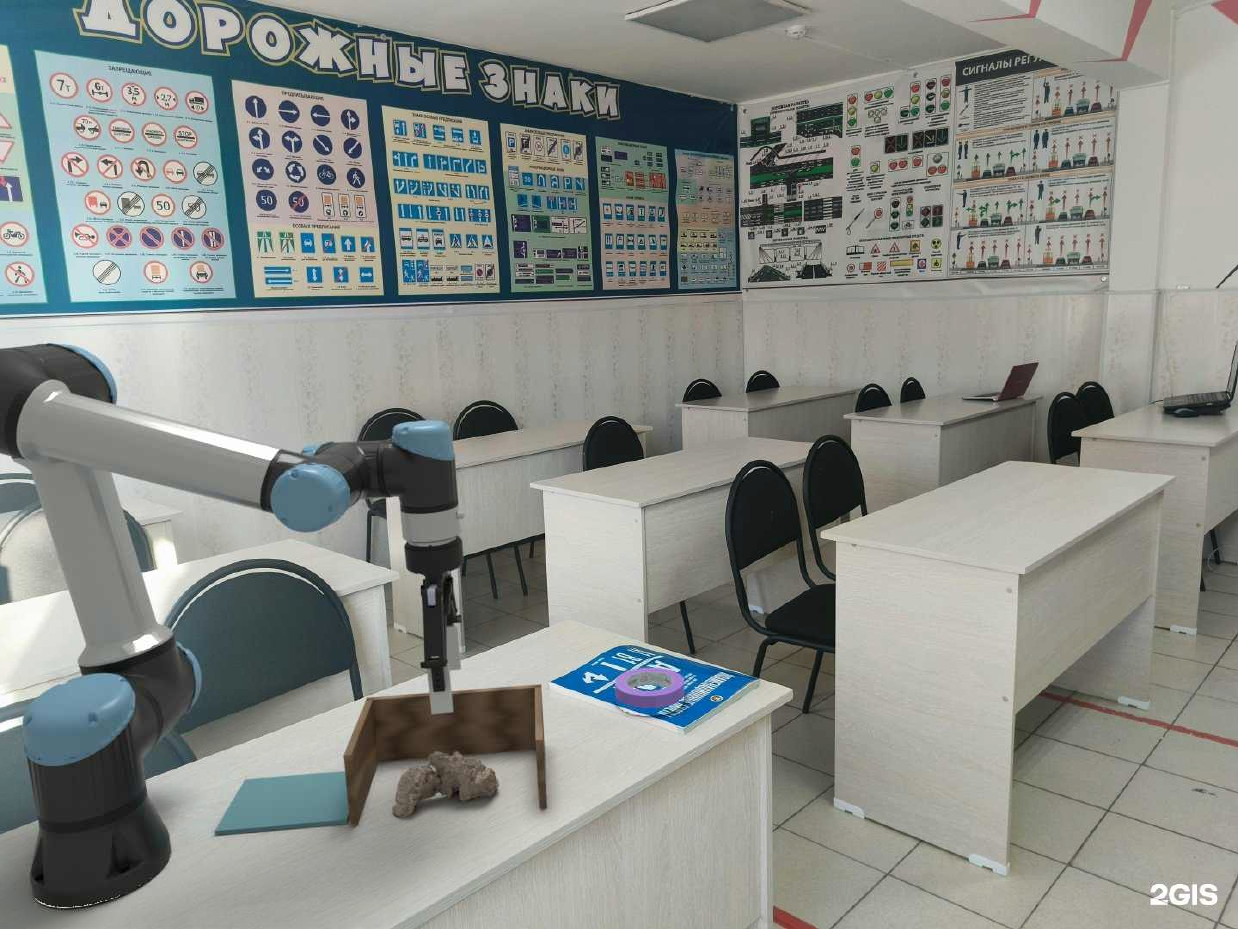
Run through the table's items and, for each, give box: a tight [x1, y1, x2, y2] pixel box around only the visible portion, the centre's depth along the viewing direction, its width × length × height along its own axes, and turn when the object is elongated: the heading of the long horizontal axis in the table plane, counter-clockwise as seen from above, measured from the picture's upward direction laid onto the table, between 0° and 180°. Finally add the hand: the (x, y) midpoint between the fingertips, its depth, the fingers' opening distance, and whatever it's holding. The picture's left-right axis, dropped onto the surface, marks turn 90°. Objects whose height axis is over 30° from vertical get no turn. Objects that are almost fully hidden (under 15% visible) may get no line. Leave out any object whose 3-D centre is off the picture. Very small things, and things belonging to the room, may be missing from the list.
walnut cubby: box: [342, 683, 548, 826], centre depth 128 cm, size 26×18×10 cm
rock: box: [392, 751, 500, 817], centre depth 124 cm, size 6×14×7 cm, turn 103°
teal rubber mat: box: [214, 770, 350, 835], centre depth 126 cm, size 17×13×1 cm
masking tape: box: [614, 667, 685, 708], centre depth 153 cm, size 12×12×4 cm
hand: (447, 689), depth 123 cm, fingers open, 13 cm apart
